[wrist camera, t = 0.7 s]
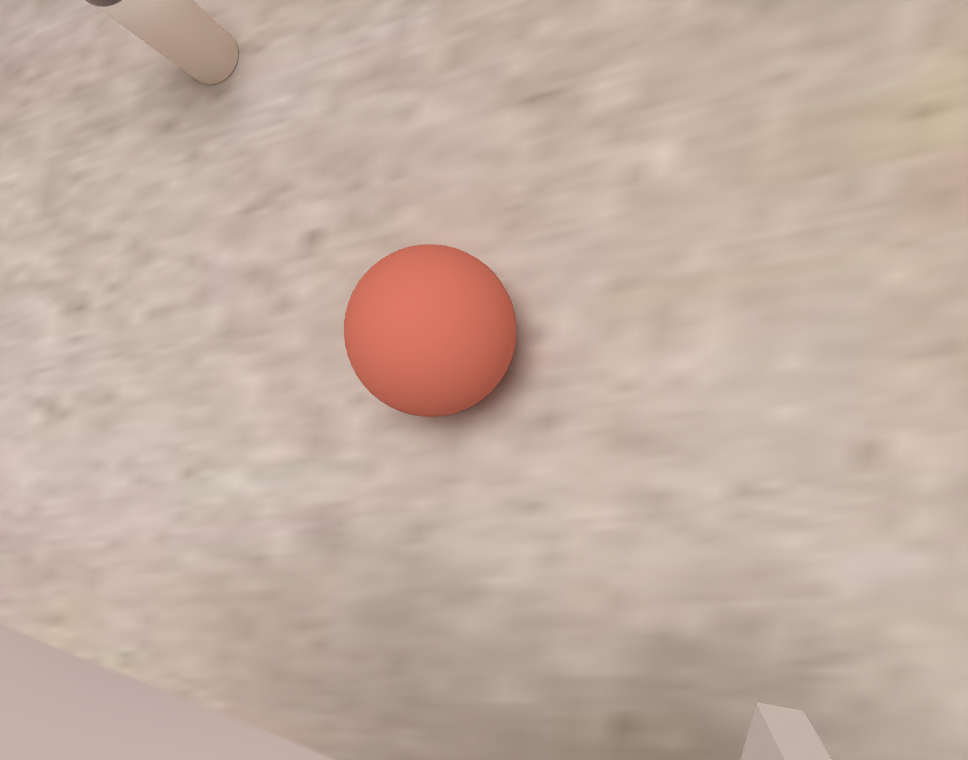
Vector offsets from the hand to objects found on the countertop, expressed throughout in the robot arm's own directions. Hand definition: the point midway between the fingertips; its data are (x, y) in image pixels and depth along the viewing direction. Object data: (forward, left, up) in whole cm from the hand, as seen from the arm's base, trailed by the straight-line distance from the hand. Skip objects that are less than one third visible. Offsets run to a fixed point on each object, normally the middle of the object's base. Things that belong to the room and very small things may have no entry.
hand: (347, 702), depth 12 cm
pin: (+23, -3, -16) cm, 28 cm away
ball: (+7, -3, -13) cm, 15 cm away
